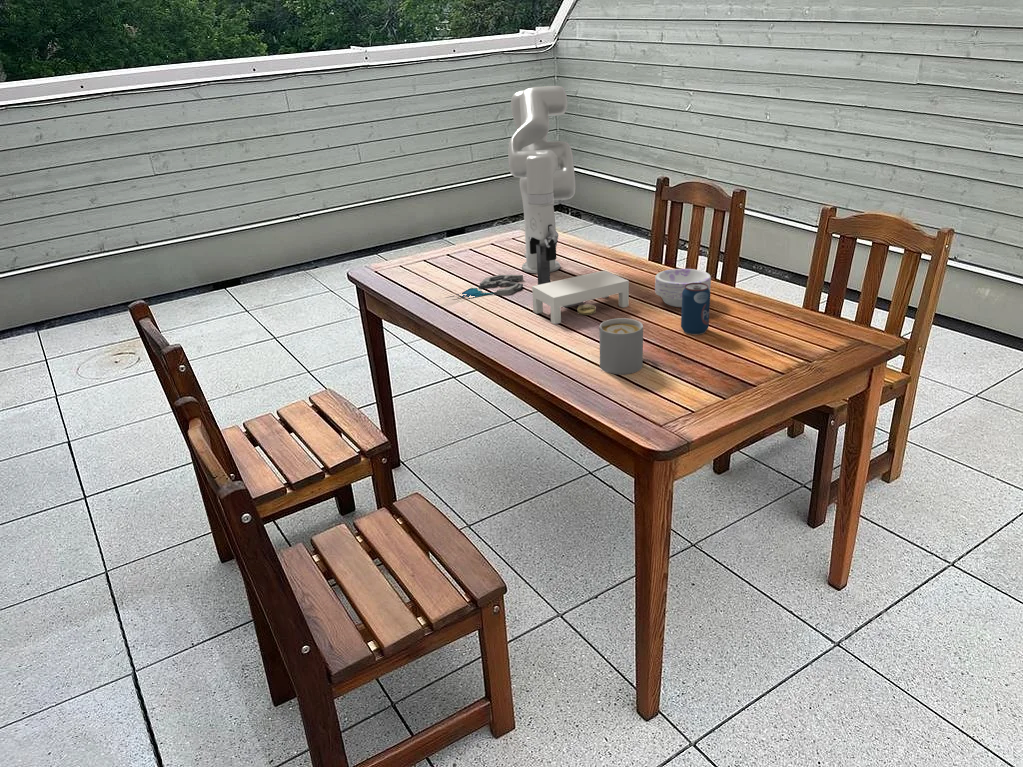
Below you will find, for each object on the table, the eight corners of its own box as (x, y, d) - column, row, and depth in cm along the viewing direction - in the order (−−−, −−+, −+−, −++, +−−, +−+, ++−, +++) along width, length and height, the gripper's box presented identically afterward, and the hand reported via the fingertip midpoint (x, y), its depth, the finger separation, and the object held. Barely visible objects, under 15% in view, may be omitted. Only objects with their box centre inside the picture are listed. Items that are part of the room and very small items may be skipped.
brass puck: (574, 312, 216) (574, 306, 216) (589, 308, 218) (589, 303, 217) (583, 317, 212) (583, 311, 211) (599, 313, 214) (598, 308, 213)
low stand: (533, 311, 218) (532, 286, 215) (604, 294, 227) (604, 270, 224) (554, 324, 208) (553, 297, 205) (628, 306, 217) (628, 280, 214)
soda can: (709, 336, 194) (711, 290, 189) (680, 335, 196) (682, 290, 191) (707, 326, 200) (710, 281, 195) (680, 325, 202) (682, 281, 197)
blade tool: (533, 290, 234) (531, 245, 228) (551, 286, 237) (549, 242, 231) (565, 307, 219) (563, 259, 213) (583, 303, 222) (582, 256, 216)
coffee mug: (622, 378, 175) (622, 337, 171) (591, 366, 182) (590, 326, 178) (661, 360, 182) (662, 321, 178) (629, 349, 190) (629, 311, 185)
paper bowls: (686, 290, 227) (687, 263, 224) (721, 304, 215) (722, 276, 211) (643, 300, 221) (644, 273, 218) (676, 315, 209) (677, 287, 205)
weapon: (538, 288, 236) (515, 276, 249) (537, 282, 236) (515, 270, 248) (434, 315, 224) (416, 300, 236) (433, 309, 223) (415, 295, 235)
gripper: (515, 196, 228) (518, 252, 235) (543, 205, 214) (546, 265, 221) (537, 192, 231) (540, 248, 238) (567, 201, 217) (568, 260, 224)
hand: (543, 256), depth 230 cm, fingers open, 9 cm apart
